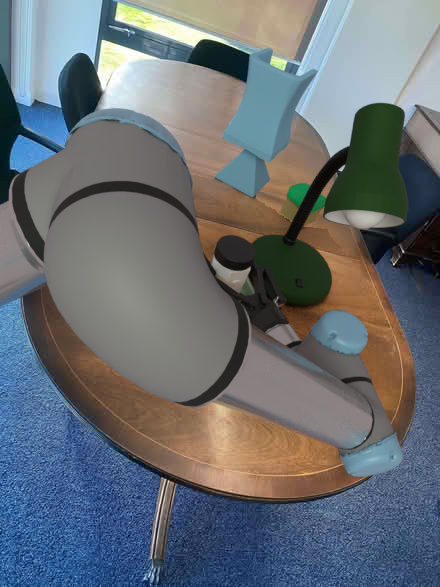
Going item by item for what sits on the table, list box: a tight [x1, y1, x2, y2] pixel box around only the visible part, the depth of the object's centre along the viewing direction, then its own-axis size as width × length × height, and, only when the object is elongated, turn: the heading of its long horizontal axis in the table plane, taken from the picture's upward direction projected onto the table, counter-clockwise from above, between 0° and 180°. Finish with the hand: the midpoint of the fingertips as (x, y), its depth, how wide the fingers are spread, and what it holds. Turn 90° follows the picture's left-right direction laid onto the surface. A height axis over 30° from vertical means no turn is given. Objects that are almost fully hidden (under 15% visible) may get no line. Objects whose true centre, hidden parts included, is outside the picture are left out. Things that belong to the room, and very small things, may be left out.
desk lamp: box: [248, 102, 410, 308], centre depth 80 cm, size 31×23×45 cm
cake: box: [279, 182, 327, 227], centre depth 116 cm, size 10×11×10 cm
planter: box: [214, 47, 319, 198], centre depth 113 cm, size 16×16×35 cm
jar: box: [209, 234, 255, 293], centre depth 81 cm, size 9×8×12 cm
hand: (219, 252), depth 83 cm, fingers closed on jar, 9 cm apart
